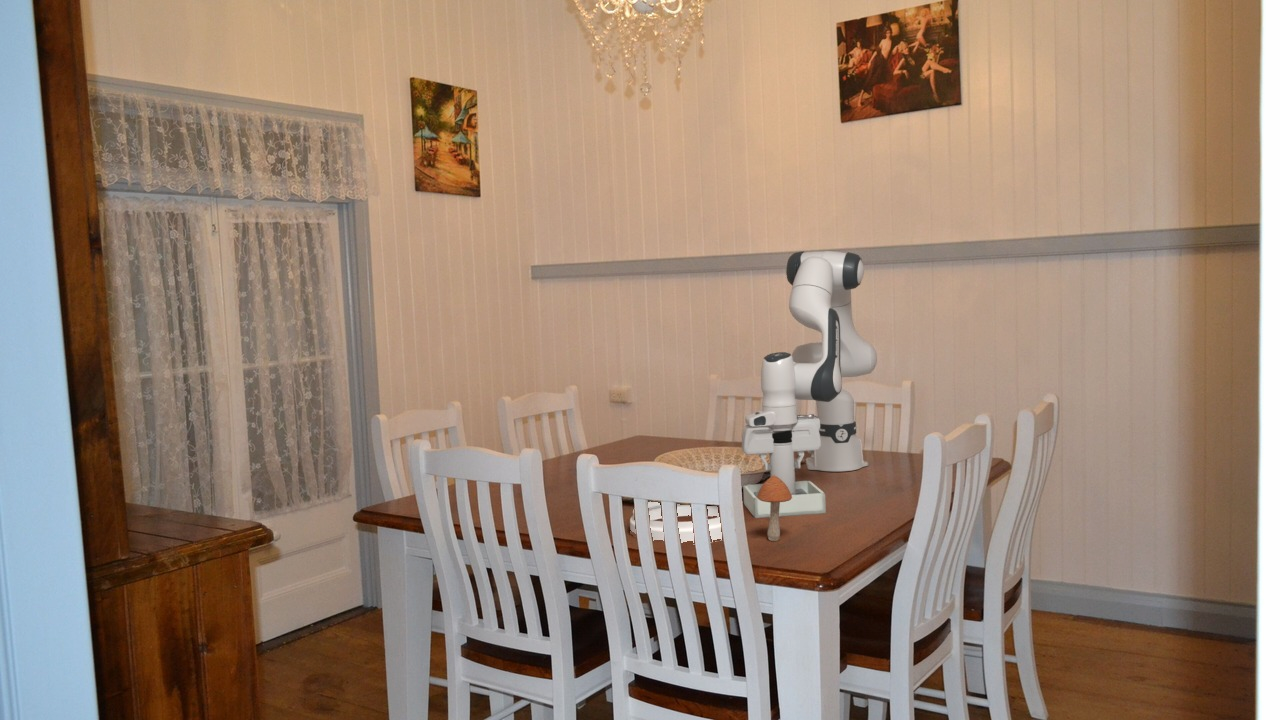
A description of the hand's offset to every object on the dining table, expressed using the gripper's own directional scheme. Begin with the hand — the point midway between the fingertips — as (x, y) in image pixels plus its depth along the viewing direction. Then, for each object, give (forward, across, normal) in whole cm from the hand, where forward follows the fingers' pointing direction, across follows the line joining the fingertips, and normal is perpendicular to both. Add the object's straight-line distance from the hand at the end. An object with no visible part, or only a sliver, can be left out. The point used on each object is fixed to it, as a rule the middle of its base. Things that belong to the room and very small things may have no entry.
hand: (782, 469), depth 244 cm
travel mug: (+10, 0, 0) cm, 10 cm away
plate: (+11, +27, +14) cm, 32 cm away
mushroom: (+10, +8, +29) cm, 32 cm away
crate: (+10, 0, 0) cm, 10 cm away
